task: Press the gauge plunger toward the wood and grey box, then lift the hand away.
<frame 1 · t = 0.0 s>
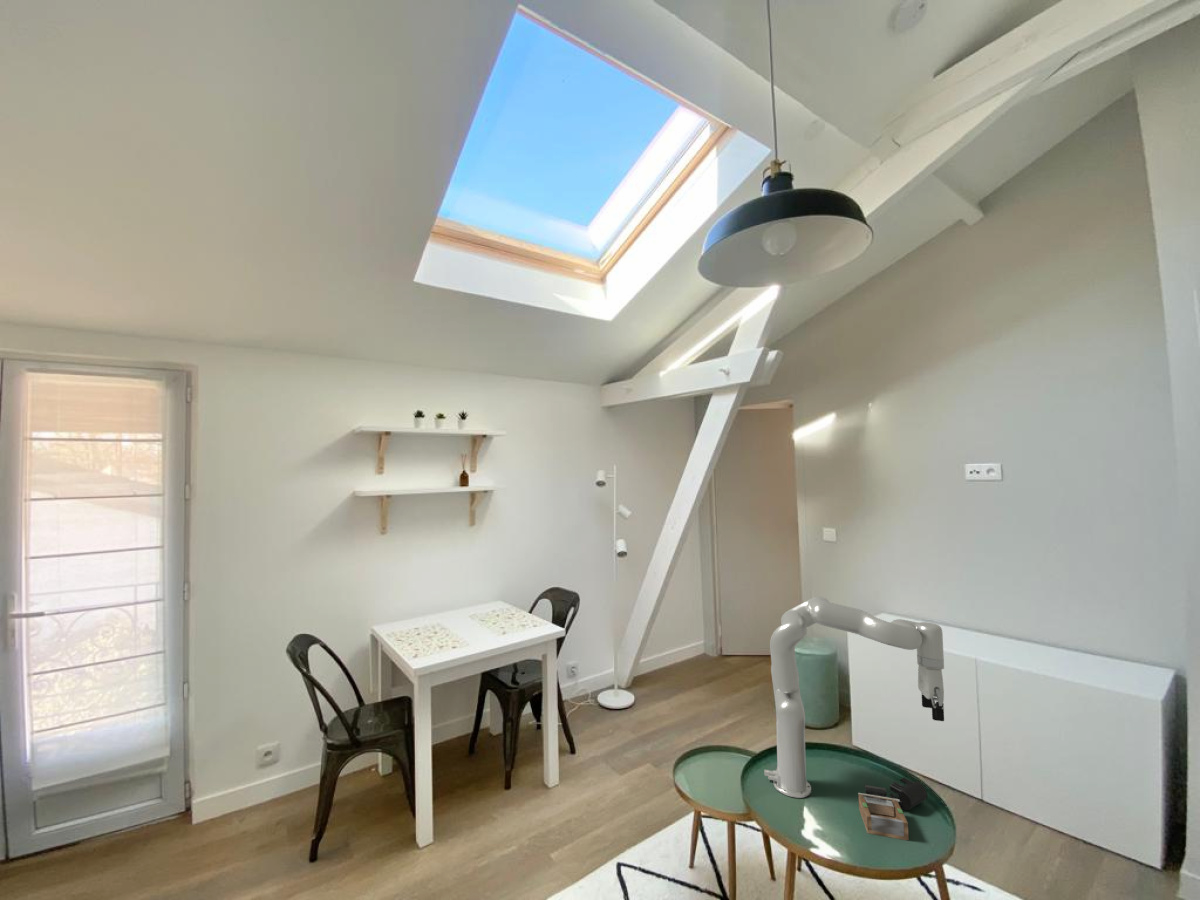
hand: (932, 713, 164), 31 cm above the table, fingers open, 9 cm apart
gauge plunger: (877, 800, 162), point 4 cm above the table, slide at 0.0 cm
wood and grey box: (882, 823, 156), on the table
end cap: (908, 805, 165), on the table
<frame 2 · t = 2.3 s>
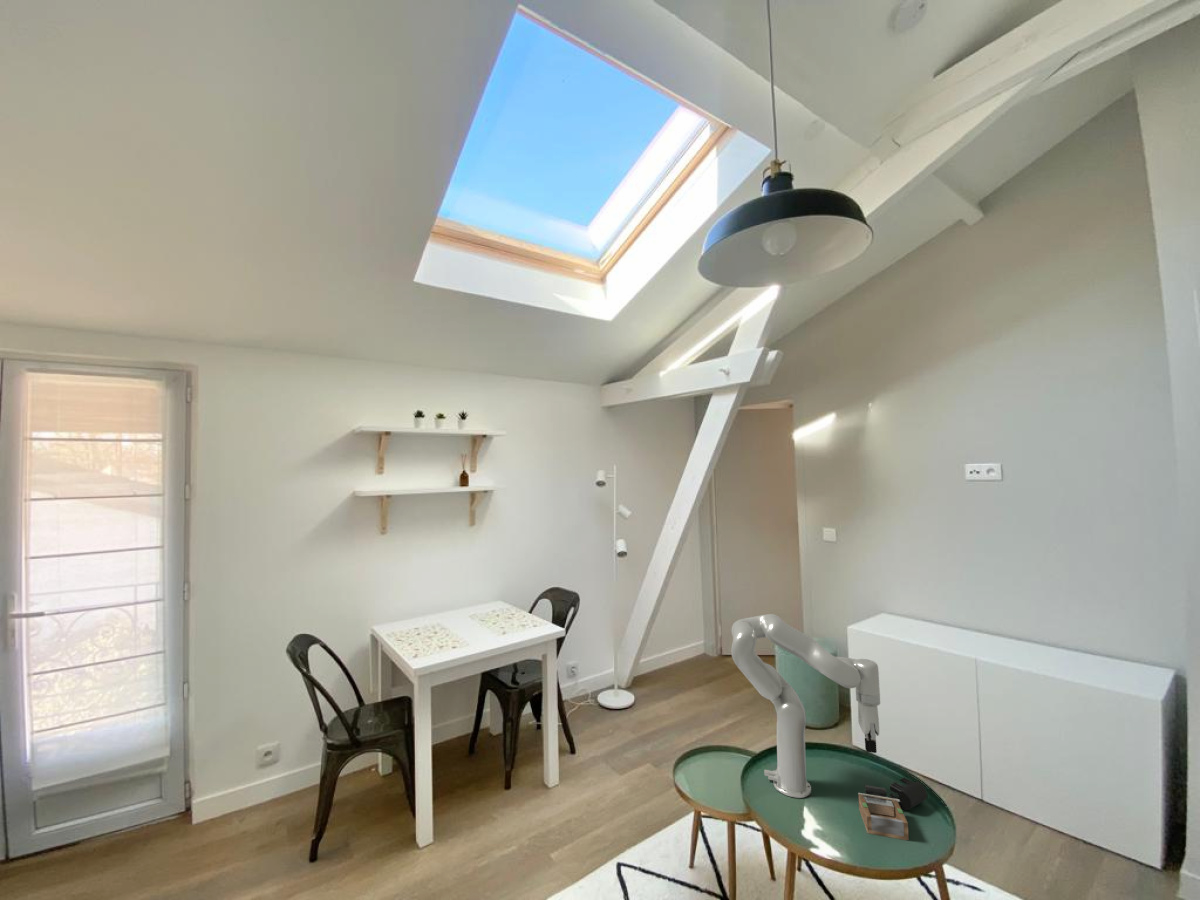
hand: (870, 751, 171), 15 cm above the table, fingers closed
nothing on the table moved.
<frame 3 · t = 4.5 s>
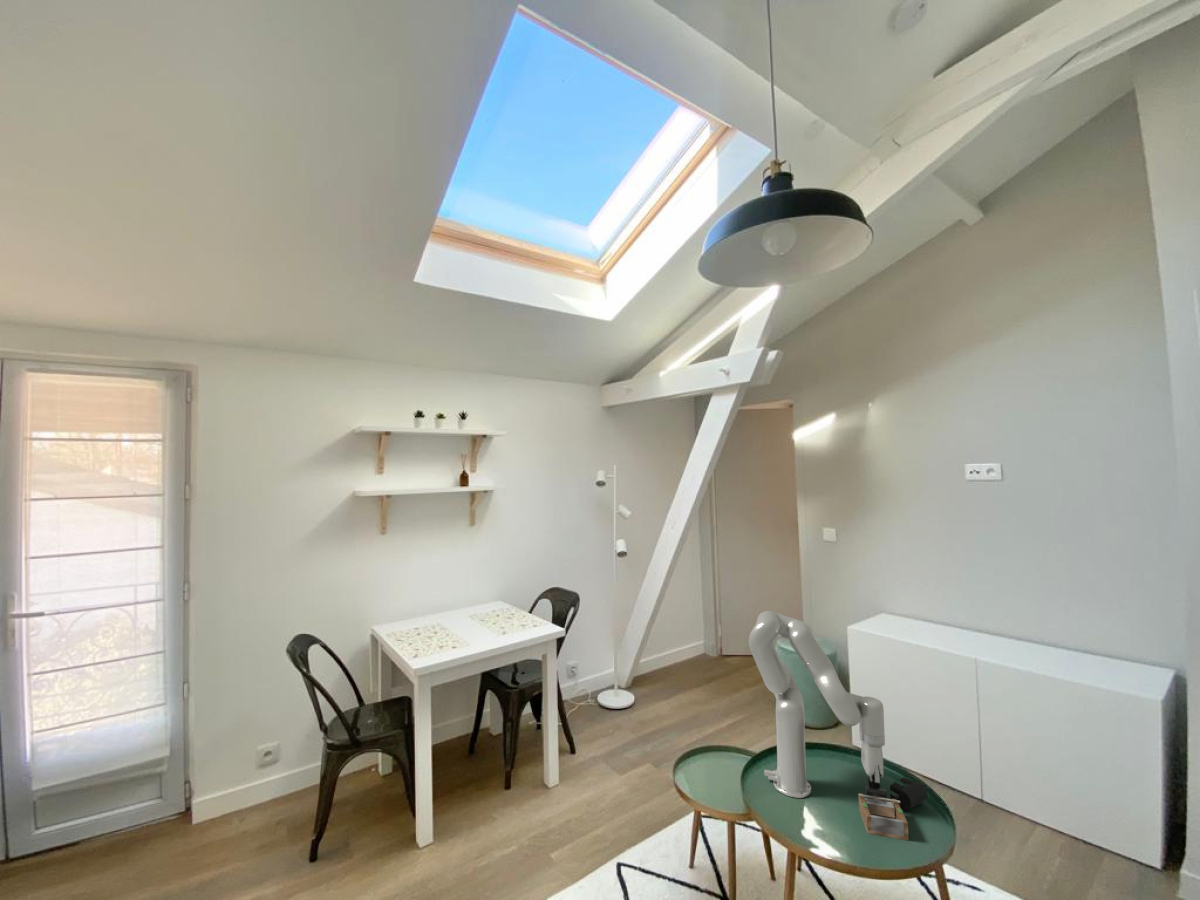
hand: (874, 792, 166), 4 cm above the table, fingers closed
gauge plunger: (878, 801, 161), point 4 cm above the table, slide at 0.7 cm, touching gripper
everything else where it was.
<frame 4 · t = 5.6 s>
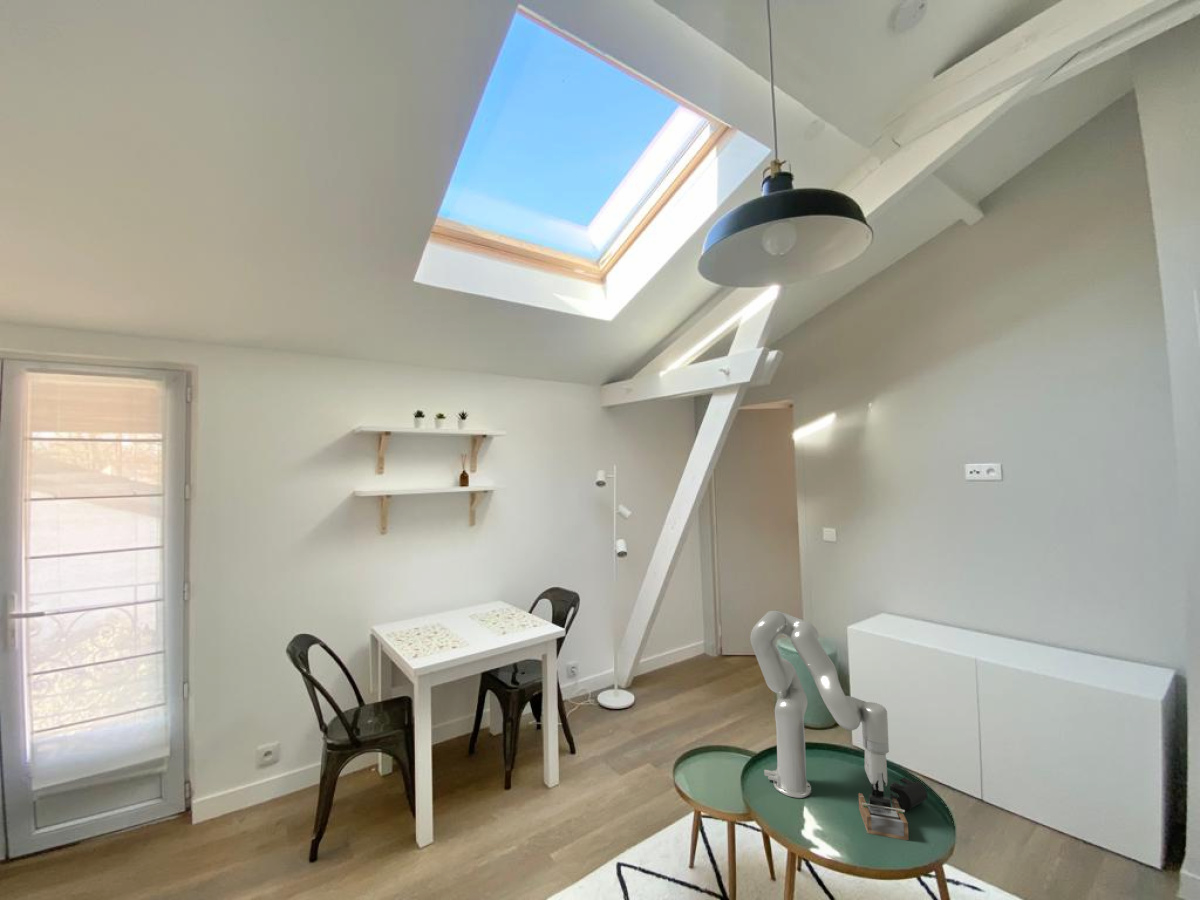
hand: (877, 801, 162), 4 cm above the table, fingers closed
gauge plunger: (881, 810, 157), point 4 cm above the table, slide at 5.3 cm, touching gripper
everything else where it was.
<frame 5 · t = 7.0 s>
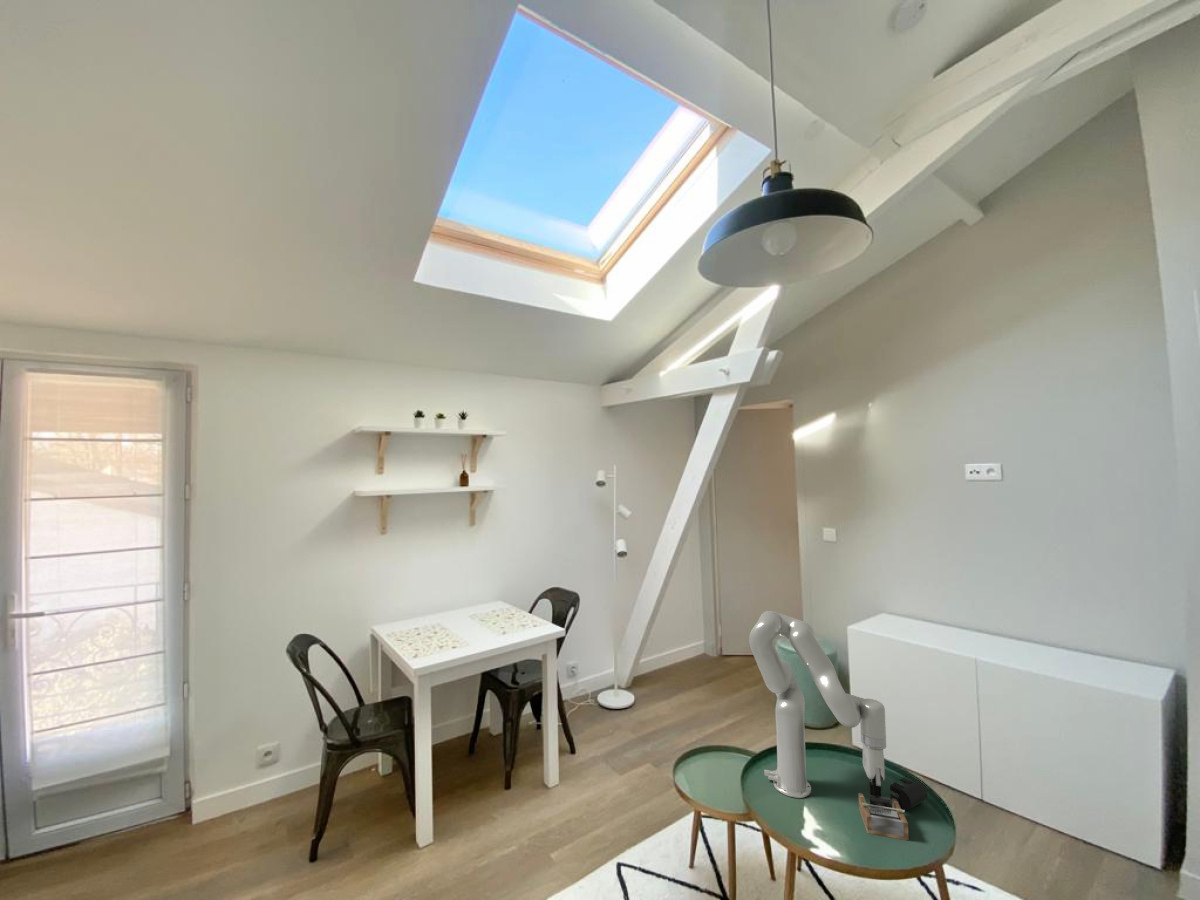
hand: (875, 795, 165), 4 cm above the table, fingers closed
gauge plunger: (882, 810, 157), point 4 cm above the table, slide at 5.4 cm
everything else where it was.
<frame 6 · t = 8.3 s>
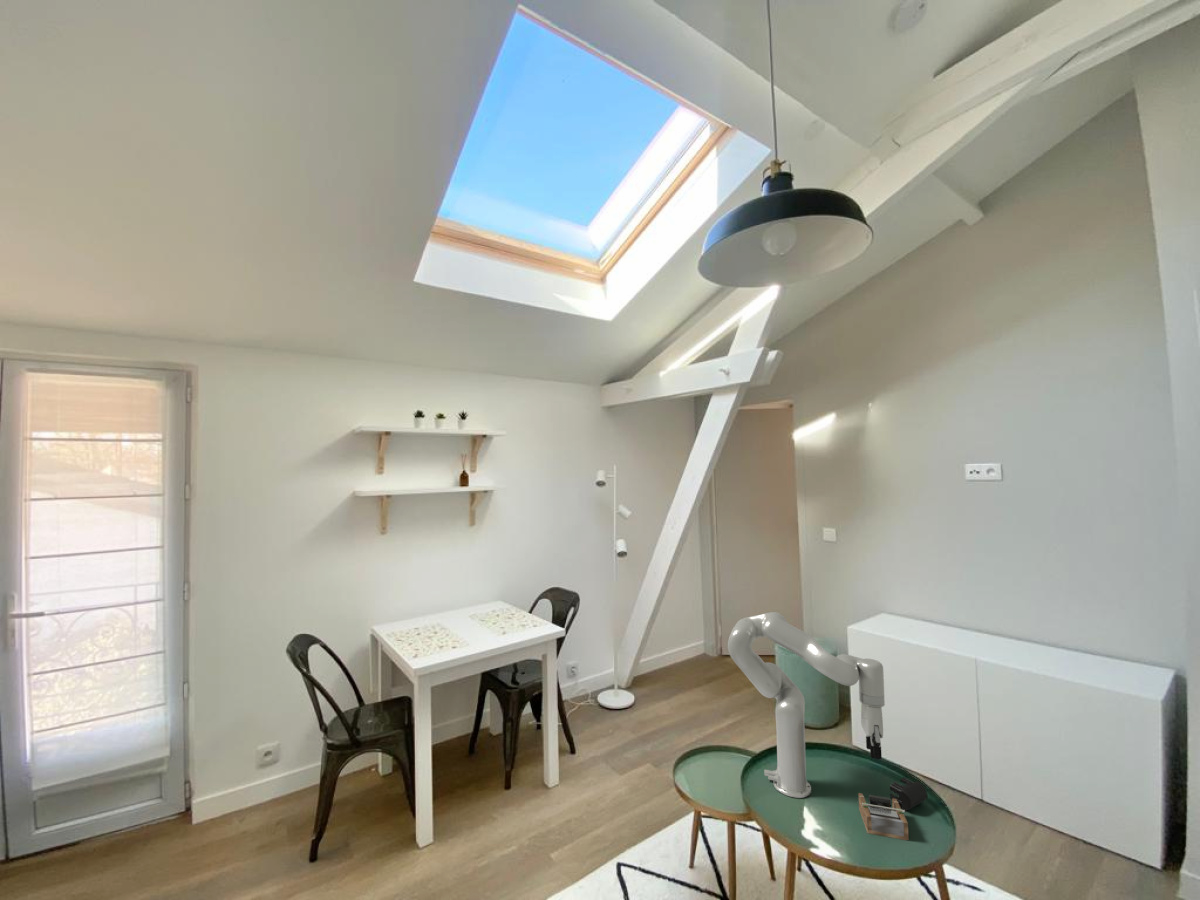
hand: (873, 753, 166), 17 cm above the table, fingers open, 4 cm apart
nothing on the table moved.
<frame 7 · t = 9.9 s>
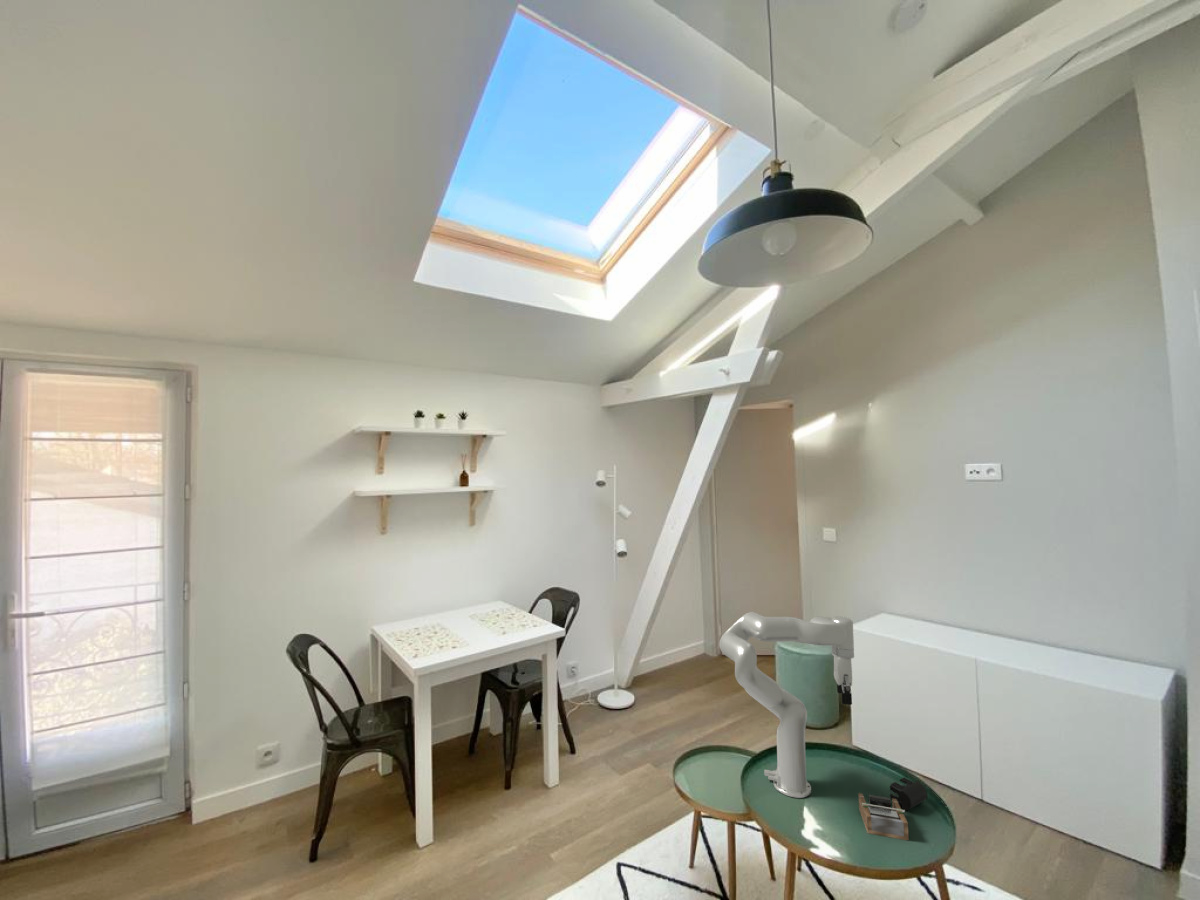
hand: (844, 698, 183), 28 cm above the table, fingers open, 9 cm apart
nothing on the table moved.
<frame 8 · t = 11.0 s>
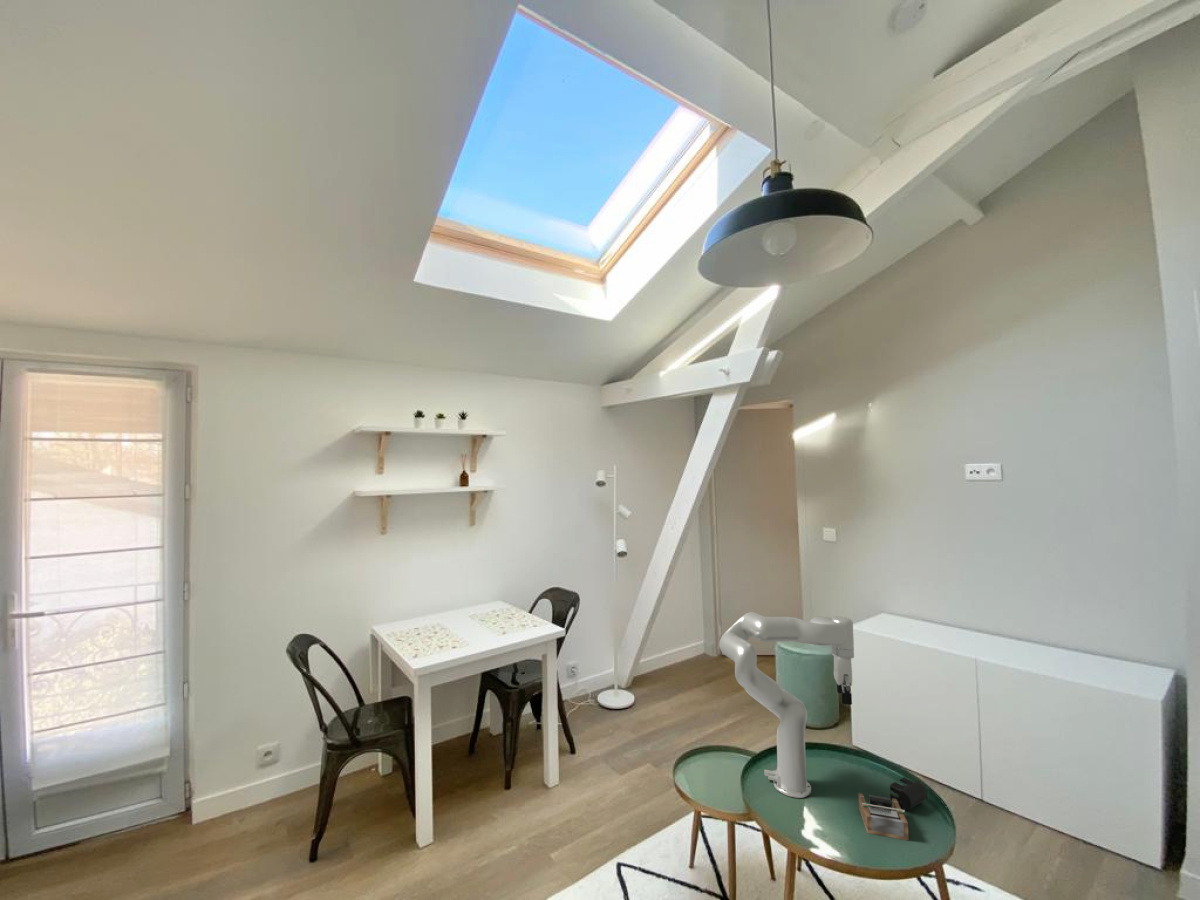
hand: (844, 698, 183), 28 cm above the table, fingers open, 9 cm apart
nothing on the table moved.
at the end: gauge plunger slide at 5.4 cm; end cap moved 0.3 cm from its start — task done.
